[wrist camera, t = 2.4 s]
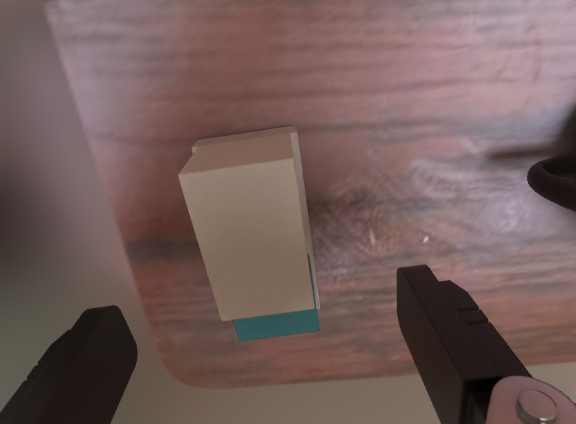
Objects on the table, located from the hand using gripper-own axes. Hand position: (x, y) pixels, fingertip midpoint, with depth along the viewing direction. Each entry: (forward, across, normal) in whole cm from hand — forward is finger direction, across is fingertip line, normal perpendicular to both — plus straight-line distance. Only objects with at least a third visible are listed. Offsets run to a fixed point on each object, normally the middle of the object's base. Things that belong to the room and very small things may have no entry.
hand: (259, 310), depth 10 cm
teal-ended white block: (+7, 0, 0) cm, 7 cm away
